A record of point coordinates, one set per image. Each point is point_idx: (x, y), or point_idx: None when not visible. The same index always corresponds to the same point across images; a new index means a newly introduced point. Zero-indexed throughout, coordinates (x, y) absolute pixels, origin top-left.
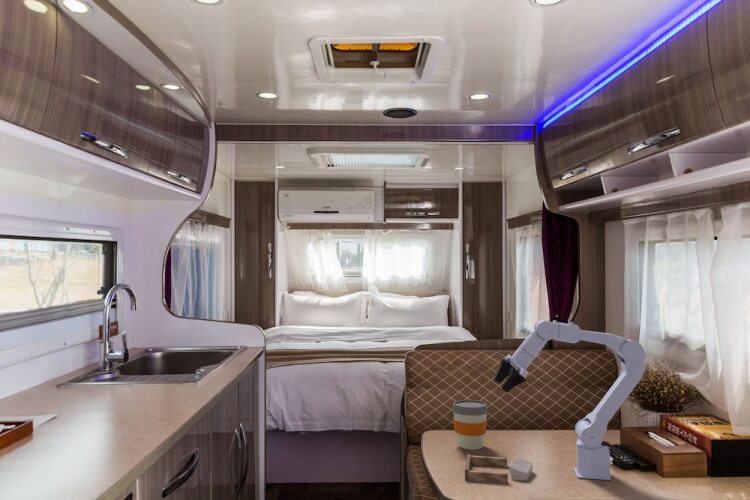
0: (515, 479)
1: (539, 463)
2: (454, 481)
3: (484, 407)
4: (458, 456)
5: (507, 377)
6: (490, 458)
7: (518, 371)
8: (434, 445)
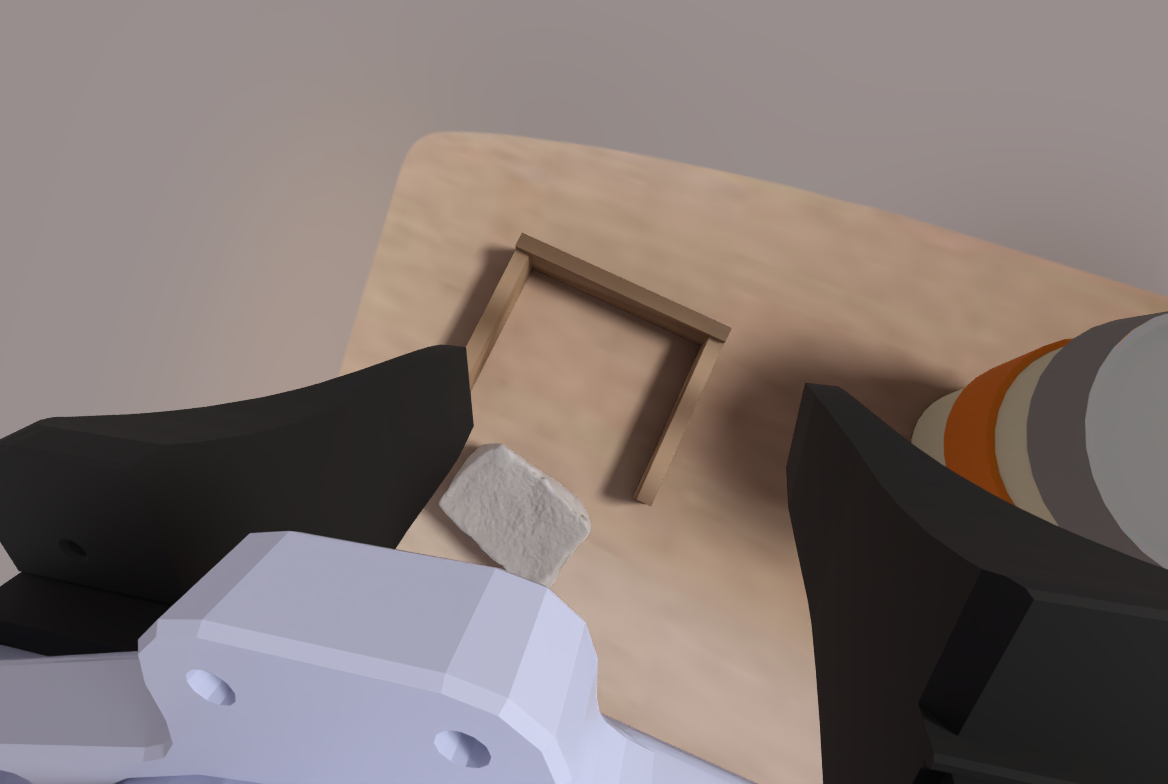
0: (468, 457)
1: (645, 683)
2: (520, 204)
3: (1111, 529)
4: (822, 333)
5: (348, 403)
6: (669, 425)
7: (51, 617)
8: (1007, 279)
